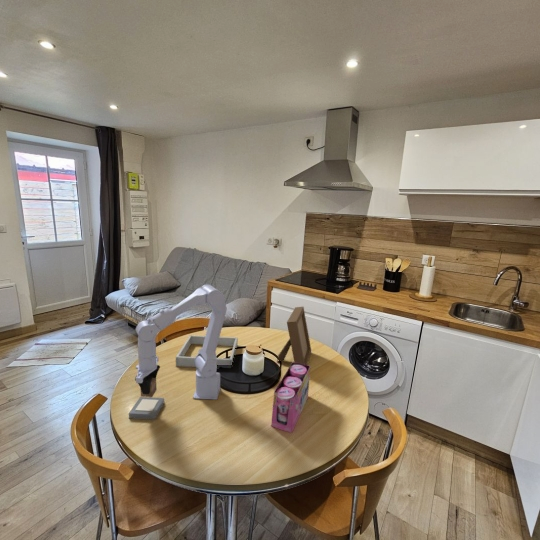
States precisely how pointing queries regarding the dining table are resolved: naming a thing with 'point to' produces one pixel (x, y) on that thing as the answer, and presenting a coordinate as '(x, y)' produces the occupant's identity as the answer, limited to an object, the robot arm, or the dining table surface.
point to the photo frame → (297, 338)
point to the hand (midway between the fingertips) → (148, 389)
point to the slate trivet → (146, 408)
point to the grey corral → (200, 340)
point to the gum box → (290, 397)
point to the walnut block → (151, 389)
